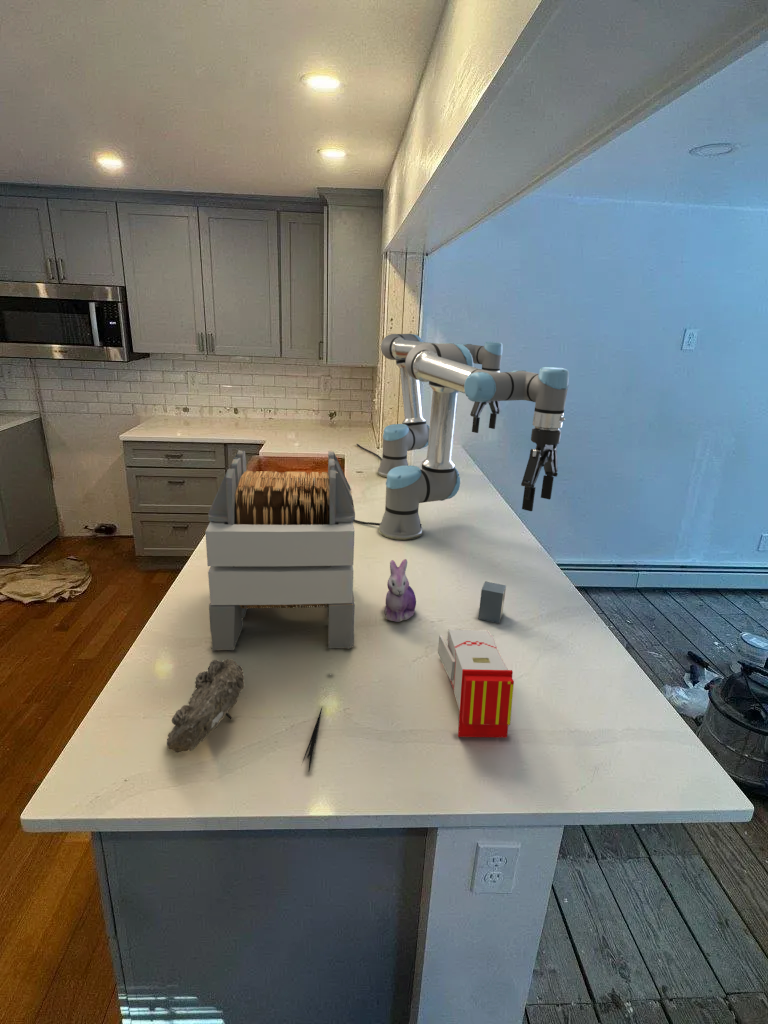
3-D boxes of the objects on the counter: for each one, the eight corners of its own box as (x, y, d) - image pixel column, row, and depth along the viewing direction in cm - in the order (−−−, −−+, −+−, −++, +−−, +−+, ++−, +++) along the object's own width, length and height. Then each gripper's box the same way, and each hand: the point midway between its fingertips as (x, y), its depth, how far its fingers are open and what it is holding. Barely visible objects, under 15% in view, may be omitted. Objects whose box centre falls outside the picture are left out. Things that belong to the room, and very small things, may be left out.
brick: (499, 623, 145) (503, 593, 142) (478, 618, 147) (481, 589, 144) (502, 614, 150) (506, 585, 147) (481, 609, 151) (485, 581, 149)
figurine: (392, 627, 141) (395, 572, 136) (374, 608, 149) (376, 556, 144) (425, 619, 145) (429, 566, 140) (405, 601, 154) (408, 550, 149)
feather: (331, 679, 122) (336, 673, 122) (307, 777, 96) (313, 769, 95) (324, 675, 122) (329, 669, 121) (298, 772, 95) (304, 764, 95)
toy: (488, 613, 130) (523, 677, 101) (484, 667, 133) (517, 744, 104) (435, 612, 130) (455, 676, 101) (432, 666, 133) (451, 743, 103)
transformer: (231, 583, 159) (223, 441, 145) (347, 582, 163) (350, 443, 149) (209, 653, 127) (196, 479, 114) (354, 649, 131) (359, 481, 117)
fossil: (192, 660, 117) (244, 628, 112) (224, 691, 120) (276, 661, 115) (142, 746, 98) (202, 712, 93) (182, 779, 101) (242, 748, 96)
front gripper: (543, 436, 138) (532, 518, 145) (576, 423, 157) (565, 496, 164) (514, 432, 142) (505, 512, 149) (550, 420, 161) (540, 491, 169)
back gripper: (481, 383, 226) (475, 435, 233) (512, 379, 244) (505, 428, 251) (465, 381, 230) (460, 432, 238) (497, 377, 248) (491, 425, 256)
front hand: (536, 504), depth 157 cm, fingers open, 13 cm apart
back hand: (483, 430), depth 245 cm, fingers open, 13 cm apart
